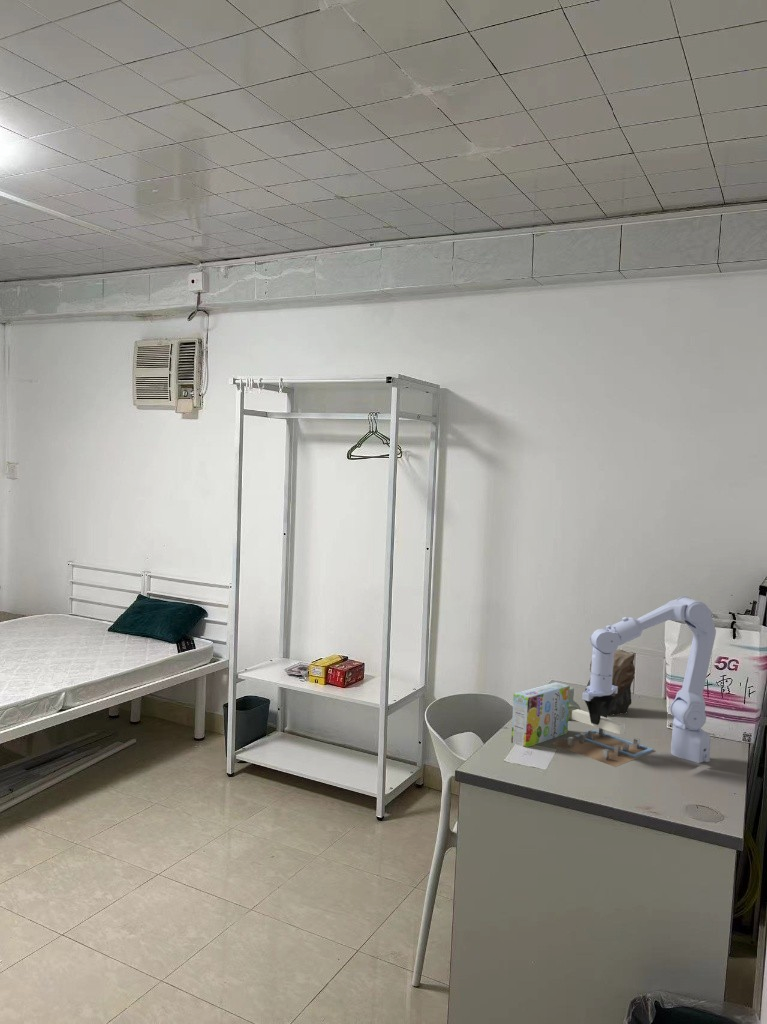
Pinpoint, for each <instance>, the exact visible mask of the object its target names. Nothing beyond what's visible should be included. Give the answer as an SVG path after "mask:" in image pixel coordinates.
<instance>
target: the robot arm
mask: <svg viewBox="0 0 767 1024" xmlns="http://www.w3.org/2000/svg"><path fill="white" fill-rule="evenodd" d="M712 616H713V610H711V609H710V608H709V606H708V605H707V604H706V603H704V602H702V601H698V600H696V599H693V598H691V597H689V596H680V597H678V598H677V599H671V600H670V601H668V602H667V603H665V604H663V605H661V606H660V607H658V608H655V609H653V610H652V611H649V612H648V613H645V614H644V615H642V616H640V617H638V618H634V617H631V616H629V617H627V616H624V617H622V618H621V621H619V622H615V623H613V624H611V625H610V624H608V625H606V626H605V628H598V629H596V630H594V631H593V633H592V634H591V636H590V637H589V642H590V643H591V646H592V653H591V654H592V655H591V659H592V664H591V663H590V664H591V672H590V677H591V679H590V678H589V680H590V686H587V685H586V686H587V687H585V689H587V690H586V691H584V692H582V695H581V696H582V697H581V700H583V701H584V702H585V705H586V707H587V710H588V712H589V714H590V720H591V723H593V724H596V725H598V724H599V722H600V717H601V716H602V717H605V718H608V716H609V715H608V713H609V710H610V708H611V706H612V704H613V703H614V702H615V699H616V697H614V696H611V694H612V693H614V694H617V691H618V687H617V686H614V685H612V675H613V661H614V651H616V650H618V647H619V646H621V645H624V644H626V643H628V642H631V641H633V640H635V639H638V638H640V637H641V636H642V633H643V631H644V630H647V629H649V628H652V627H655V626H657V625H660V624H662V623H664V622H665V623H666V622H667V621H670V620H671V621H672V620H673V621H678V622H684V623H685V624H686V625H687V626H688V627H689V629H690V630H691V632H692V633H693V636H692V641H691V645H690V650H689V653H688V659H687V662H686V663H687V664H686V668H685V673H684V677H683V682H682V686H681V689H679V690H678V691H677V692H676V695H675V698H674V699H673V700H672V702H671V703H670V707H669V711H670V714H671V716H672V717H673V721H672V728H671V729H672V732H671V743H670V754H671V755H673V756H674V757H676V758H679V759H684V760H687V761H691V762H694V763H697V764H701V763H703V762H706V763H708V762H710V761H711V759H710V751H711V735H710V733H709V732H707V731H705V730H703V729H702V728H703V727H704V725H705V724H706V721H707V715H706V702H705V698H704V695H703V694H704V689H705V685H706V681H707V676H708V671H709V668H710V667H709V666H710V661H711V658H712V654H713V653H712V652H713V649H714V643H715V639H716V635H717V629H716V626H715V623H714V619H713V617H712Z"/></svg>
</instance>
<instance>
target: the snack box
mask: <svg viewBox="0 0 767 1024" xmlns="http://www.w3.org/2000/svg"><path fill="white" fill-rule="evenodd" d="M570 686H571V685H568V684H566V683H565V684H564V683H560V682H557V681H555V682H551V683H548V684H544V685H540V686H537V687H533V688H528V689H525V690H522V691H517V692H514V693H513V698H512V718H511V719H512V721H511V737H510V738H511V739H510V740H511V741H510V743H511V744H515V745H518V746H520V747H523V748H529V747H532V746H536V745H538V744H541V743H543V742H546V741H549V740H552V739H554V738H558V737H560V736H563V735H566V734H568V731H569V730H568V729H569V727H568V726H569V719H568V712H569V691H570Z"/></svg>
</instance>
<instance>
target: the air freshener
mask: <svg viewBox="0 0 767 1024" xmlns="http://www.w3.org/2000/svg"><path fill="white" fill-rule="evenodd" d="M569 686H570V691H569V712H568V720H573V719H572V711H573V710H576V709H579V710H582V709H581V706H580V705H579V704H578V703H577V702H576V701H575V700H574V696H575V695H574V693H575V692H574V691H575V689H574V687H573V686H571V685H569Z"/></svg>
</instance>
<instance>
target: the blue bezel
mask: <svg viewBox="0 0 767 1024" xmlns="http://www.w3.org/2000/svg"><path fill="white" fill-rule="evenodd" d="M588 731H589V730H588ZM588 731H585V732H582V733H583V734H586V735H588ZM591 731H594V733H597V734H599V730H597V729H591ZM579 734H580V733H578V734H575V735H573V736H574V737H575V738H578V739H579ZM605 736H606V737H609V738H613V739H616V740H619V741H622V742H628V743H629V744H631V745H633V742H634V741H630V740H627V739H624V738H621V737H619V736H615V735H612V734H609V733H606V732H605ZM585 741H587V742H590V743H593V744H596V745H598V746H601V747H604V748H607V749H610V750H613V751H614V747H611V746H608V745H605V744H602V743H599V742H596V741H593V740H590V739H587V738H585ZM639 747H640V748H643V749H646V750H643V751H641V752H638V753H635V754H631V753H628V752H625V751H622V750H620V753H622V754H625V755H627V756H630V757H633V758H636V757H638V756H641V755H644V754H646V753H649V752H652V751H653V750H654V748H652V747H648V746H646V745H643V744H640V745H639Z"/></svg>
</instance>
